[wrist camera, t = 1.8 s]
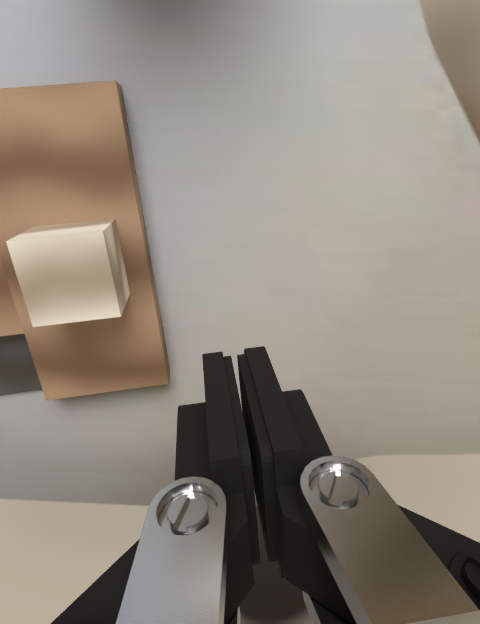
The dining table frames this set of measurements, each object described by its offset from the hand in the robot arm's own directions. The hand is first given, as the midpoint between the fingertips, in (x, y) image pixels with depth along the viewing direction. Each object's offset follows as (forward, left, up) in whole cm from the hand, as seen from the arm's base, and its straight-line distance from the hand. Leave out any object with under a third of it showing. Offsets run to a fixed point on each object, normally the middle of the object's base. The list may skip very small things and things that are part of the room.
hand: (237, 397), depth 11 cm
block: (0, -8, -17) cm, 19 cm away
